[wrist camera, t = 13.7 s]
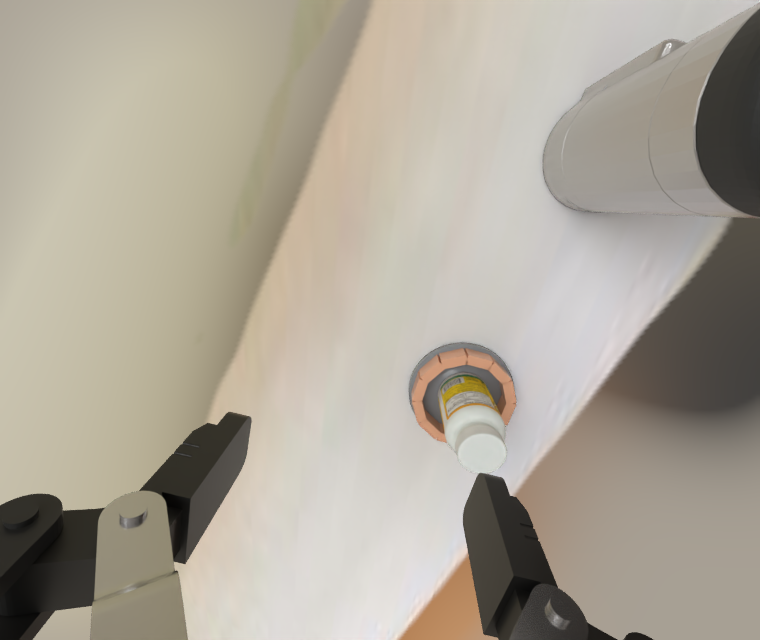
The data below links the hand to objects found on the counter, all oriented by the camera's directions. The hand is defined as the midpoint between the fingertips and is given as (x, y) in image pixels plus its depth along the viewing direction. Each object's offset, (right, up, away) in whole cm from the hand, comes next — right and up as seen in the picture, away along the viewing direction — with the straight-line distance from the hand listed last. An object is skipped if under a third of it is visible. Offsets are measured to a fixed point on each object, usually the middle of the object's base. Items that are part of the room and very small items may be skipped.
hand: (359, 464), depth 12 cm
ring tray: (+9, -3, +27) cm, 28 cm away
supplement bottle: (+9, -3, +26) cm, 28 cm away
